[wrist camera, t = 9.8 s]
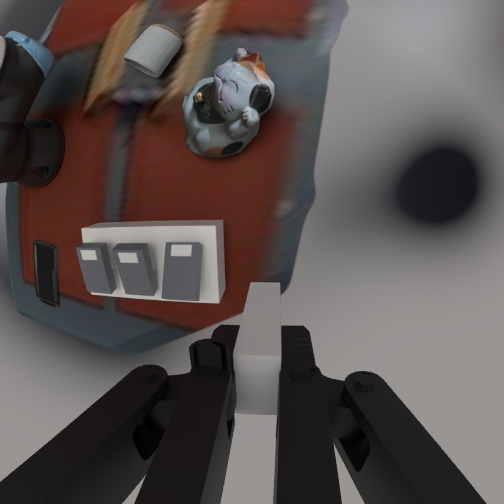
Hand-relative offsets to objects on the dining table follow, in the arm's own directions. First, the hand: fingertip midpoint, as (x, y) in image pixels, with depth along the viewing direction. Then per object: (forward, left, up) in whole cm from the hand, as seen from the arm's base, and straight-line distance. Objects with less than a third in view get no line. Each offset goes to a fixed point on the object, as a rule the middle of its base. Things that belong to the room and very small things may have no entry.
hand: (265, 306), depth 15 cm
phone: (-50, -11, -33) cm, 61 cm away
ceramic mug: (-20, +31, -33) cm, 49 cm away
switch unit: (-20, -6, -32) cm, 39 cm away
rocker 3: (-13, -6, -23) cm, 27 cm away
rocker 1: (-28, -6, -24) cm, 37 cm away
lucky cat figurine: (-7, +18, -33) cm, 38 cm away
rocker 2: (-20, -6, -23) cm, 31 cm away
